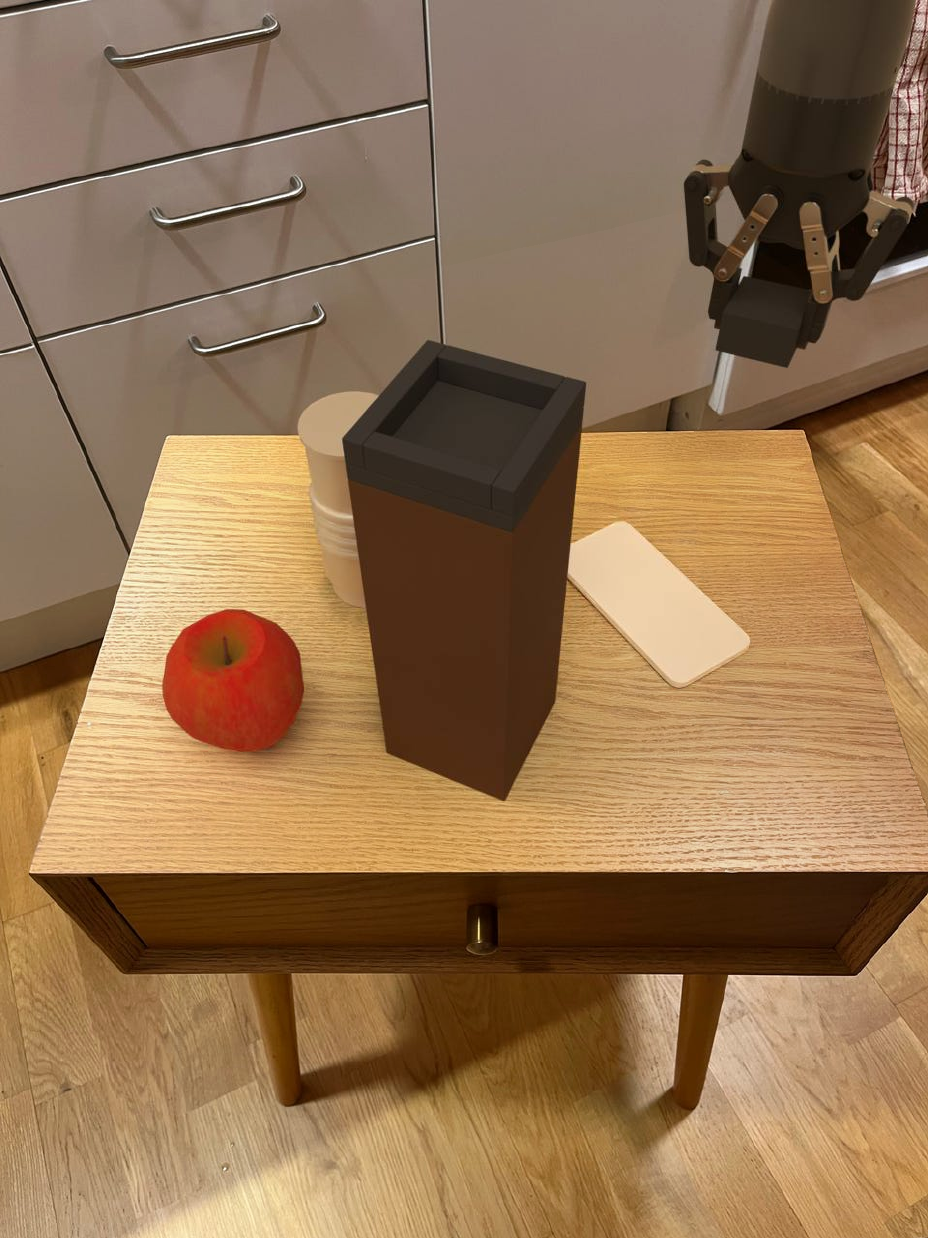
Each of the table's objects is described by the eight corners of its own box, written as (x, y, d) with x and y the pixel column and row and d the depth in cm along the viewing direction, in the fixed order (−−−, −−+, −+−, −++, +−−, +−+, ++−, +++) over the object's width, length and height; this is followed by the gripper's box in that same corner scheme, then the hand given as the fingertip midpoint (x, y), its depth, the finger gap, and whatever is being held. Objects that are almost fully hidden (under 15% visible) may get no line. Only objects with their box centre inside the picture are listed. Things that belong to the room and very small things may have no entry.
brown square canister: (555, 702, 66) (587, 381, 46) (504, 802, 61) (514, 491, 41) (443, 660, 69) (427, 338, 49) (386, 753, 64) (341, 438, 44)
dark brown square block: (805, 330, 67) (816, 291, 65) (787, 368, 65) (798, 329, 62) (735, 313, 69) (743, 275, 67) (714, 350, 66) (723, 311, 64)
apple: (180, 795, 62) (133, 697, 54) (199, 688, 67) (159, 585, 59) (313, 789, 62) (287, 691, 54) (321, 683, 68) (298, 579, 59)
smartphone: (677, 687, 66) (549, 554, 74) (675, 693, 67) (549, 560, 75) (756, 641, 68) (624, 517, 77) (754, 648, 69) (623, 524, 77)
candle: (395, 536, 77) (380, 379, 65) (428, 595, 73) (417, 439, 61) (313, 562, 75) (283, 405, 64) (342, 624, 71) (314, 468, 60)
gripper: (681, 70, 53) (645, 337, 66) (952, 112, 49) (857, 389, 62) (720, 25, 58) (679, 284, 71) (973, 60, 53) (879, 329, 66)
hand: (762, 332), depth 66 cm, fingers closed on dark brown square block, 5 cm apart
